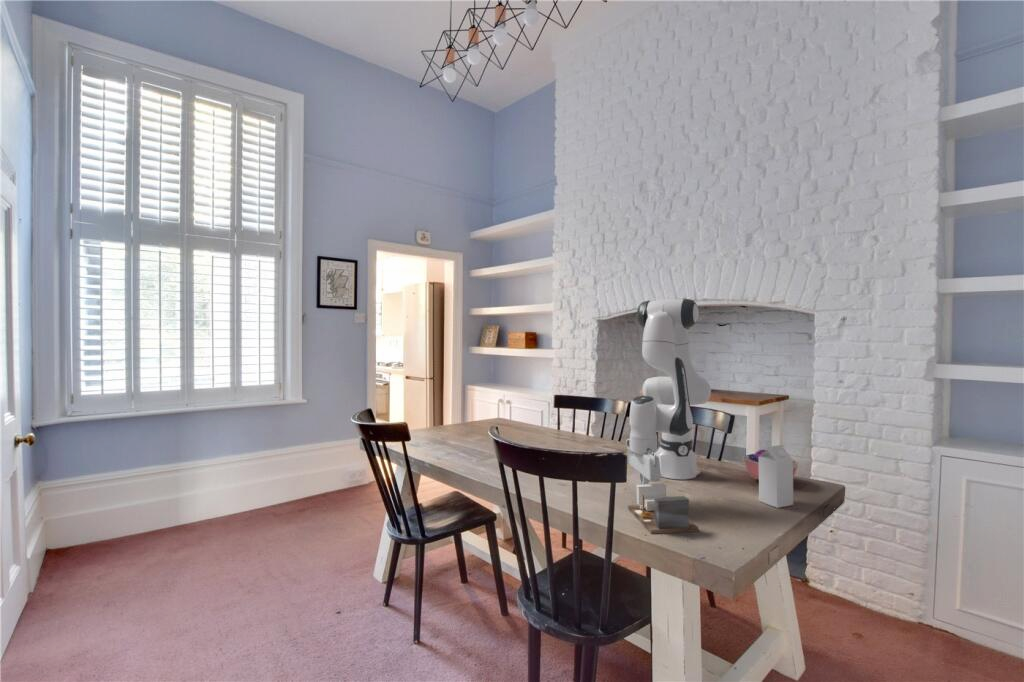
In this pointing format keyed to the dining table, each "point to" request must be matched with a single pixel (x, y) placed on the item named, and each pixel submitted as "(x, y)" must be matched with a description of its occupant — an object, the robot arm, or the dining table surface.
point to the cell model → (753, 464)
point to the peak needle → (643, 509)
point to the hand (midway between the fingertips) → (644, 486)
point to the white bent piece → (650, 494)
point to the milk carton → (776, 477)
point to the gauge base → (652, 524)
